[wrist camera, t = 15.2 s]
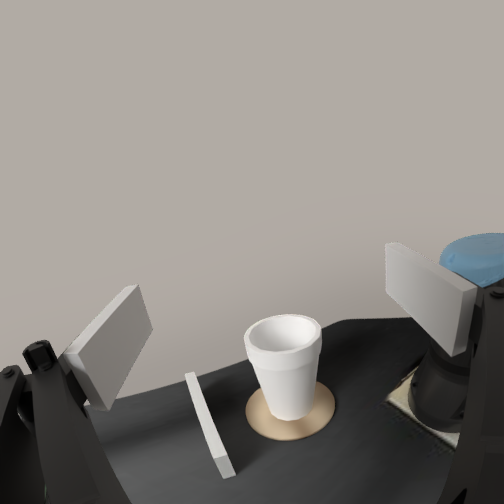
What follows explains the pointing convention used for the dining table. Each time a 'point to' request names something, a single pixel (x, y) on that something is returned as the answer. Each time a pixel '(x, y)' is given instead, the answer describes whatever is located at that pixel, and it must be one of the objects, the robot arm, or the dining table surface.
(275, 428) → the cork coaster
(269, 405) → the foam cup
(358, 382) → the dining table surface
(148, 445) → the dining table surface
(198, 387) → the low wall
